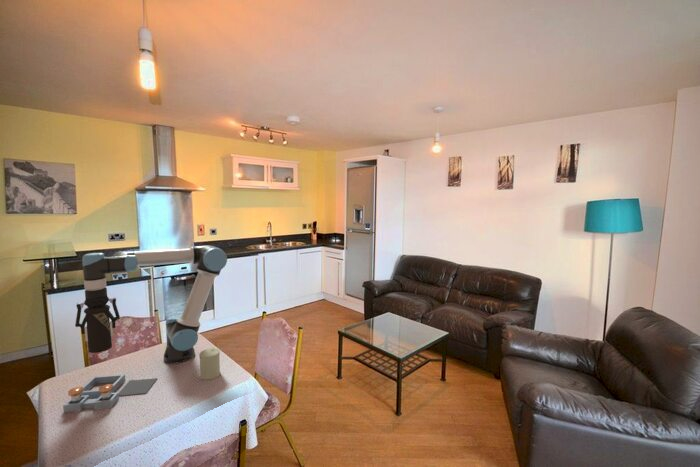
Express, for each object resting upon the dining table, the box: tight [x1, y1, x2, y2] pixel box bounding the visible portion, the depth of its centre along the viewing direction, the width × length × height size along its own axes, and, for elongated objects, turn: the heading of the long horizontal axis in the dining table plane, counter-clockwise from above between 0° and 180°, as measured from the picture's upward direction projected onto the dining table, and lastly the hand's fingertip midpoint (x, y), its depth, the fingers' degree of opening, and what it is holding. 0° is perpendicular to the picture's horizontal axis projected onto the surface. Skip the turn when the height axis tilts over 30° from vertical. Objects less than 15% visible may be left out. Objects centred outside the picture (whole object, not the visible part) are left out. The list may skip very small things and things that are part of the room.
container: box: [83, 303, 113, 354], centre depth 139 cm, size 9×9×20 cm
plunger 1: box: [67, 386, 84, 403], centre depth 129 cm, size 5×5×6 cm
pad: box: [118, 377, 158, 397], centre depth 144 cm, size 12×12×1 cm
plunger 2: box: [98, 383, 113, 401], centre depth 132 cm, size 5×5×6 cm
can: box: [199, 347, 221, 381], centre depth 155 cm, size 9×9×12 cm
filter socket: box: [81, 373, 126, 399], centre depth 142 cm, size 13×13×3 cm
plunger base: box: [62, 391, 120, 413], centre depth 131 cm, size 17×6×3 cm, turn 101°
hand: (99, 337), depth 140 cm, fingers closed on container, 8 cm apart
